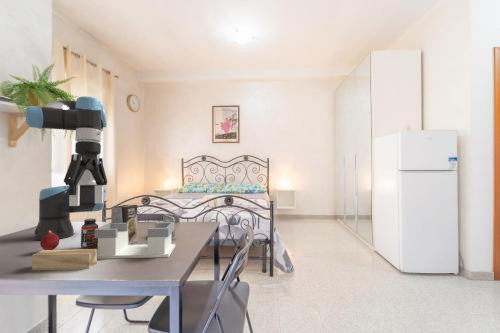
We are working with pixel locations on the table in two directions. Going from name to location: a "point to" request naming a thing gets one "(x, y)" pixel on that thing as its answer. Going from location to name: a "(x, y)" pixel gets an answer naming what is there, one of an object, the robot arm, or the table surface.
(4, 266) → the table surface
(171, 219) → the handheld gaming console
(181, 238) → the table surface
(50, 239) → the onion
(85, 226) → the supplement bottle
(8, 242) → the table surface
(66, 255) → the rail
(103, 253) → the bracket stand
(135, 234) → the coffee box
